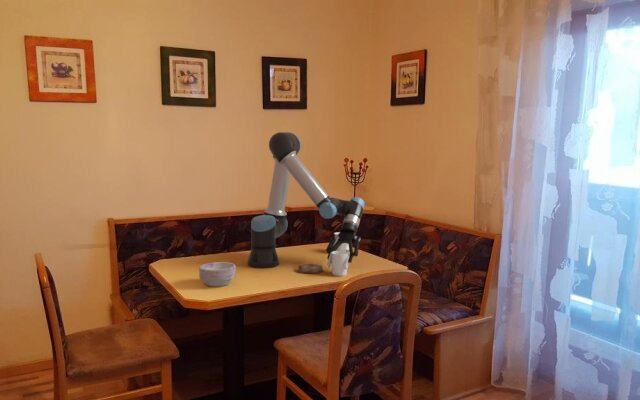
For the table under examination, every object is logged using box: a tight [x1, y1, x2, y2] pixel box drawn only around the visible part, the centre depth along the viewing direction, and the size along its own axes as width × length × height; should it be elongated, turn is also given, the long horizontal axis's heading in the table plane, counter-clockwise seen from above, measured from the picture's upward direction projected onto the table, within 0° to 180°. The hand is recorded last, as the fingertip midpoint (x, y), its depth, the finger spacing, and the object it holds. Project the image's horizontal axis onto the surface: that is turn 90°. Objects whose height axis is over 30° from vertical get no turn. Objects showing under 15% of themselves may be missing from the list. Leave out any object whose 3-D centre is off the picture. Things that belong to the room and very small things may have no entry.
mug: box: [333, 231, 350, 254], centre depth 276 cm, size 9×12×11 cm
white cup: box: [331, 251, 350, 277], centre depth 236 cm, size 8×8×10 cm
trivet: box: [298, 263, 323, 275], centre depth 241 cm, size 11×11×2 cm
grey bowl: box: [198, 261, 237, 287], centre depth 218 cm, size 15×15×8 cm
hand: (336, 266), depth 233 cm, fingers closed on white cup, 8 cm apart
